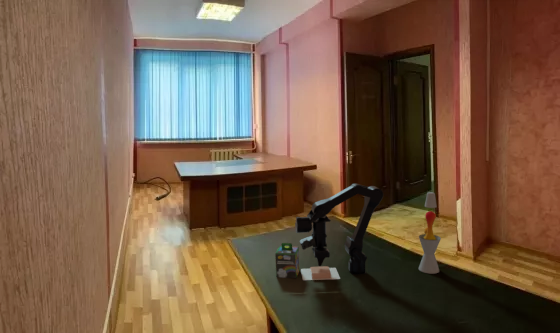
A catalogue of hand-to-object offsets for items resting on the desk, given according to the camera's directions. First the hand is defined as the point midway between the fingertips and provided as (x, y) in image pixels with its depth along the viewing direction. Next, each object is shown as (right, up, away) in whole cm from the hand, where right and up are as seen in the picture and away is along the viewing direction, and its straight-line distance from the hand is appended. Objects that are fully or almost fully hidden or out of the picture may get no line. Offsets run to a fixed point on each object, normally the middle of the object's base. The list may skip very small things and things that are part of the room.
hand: (319, 265), depth 166 cm
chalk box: (-14, -4, +2) cm, 15 cm away
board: (0, -4, +1) cm, 4 cm away
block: (0, -2, +2) cm, 3 cm away
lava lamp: (+49, -3, +3) cm, 49 cm away
